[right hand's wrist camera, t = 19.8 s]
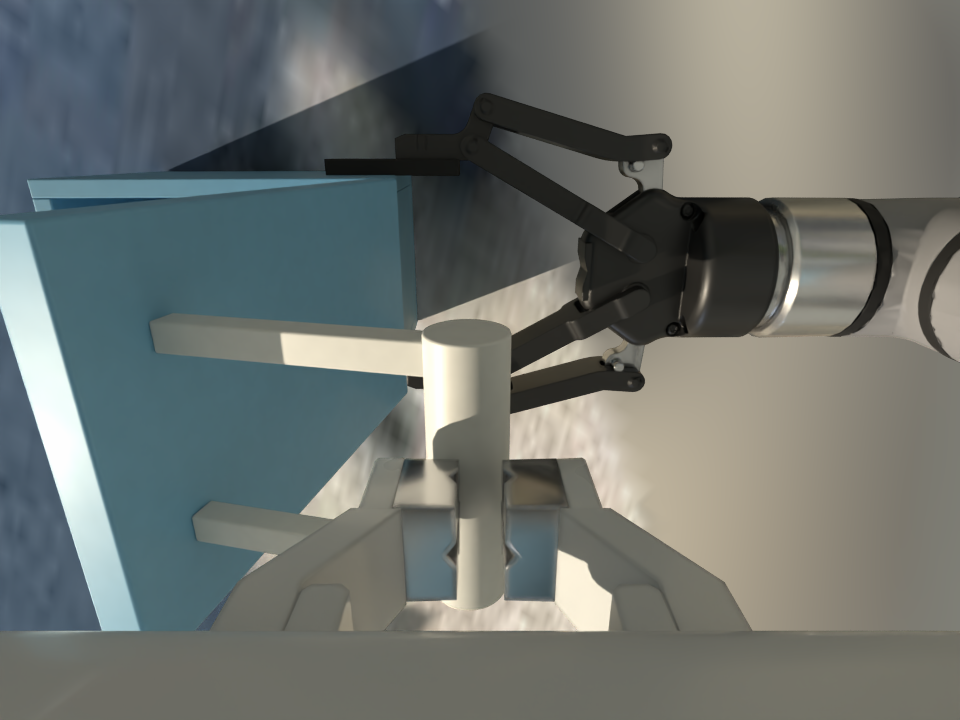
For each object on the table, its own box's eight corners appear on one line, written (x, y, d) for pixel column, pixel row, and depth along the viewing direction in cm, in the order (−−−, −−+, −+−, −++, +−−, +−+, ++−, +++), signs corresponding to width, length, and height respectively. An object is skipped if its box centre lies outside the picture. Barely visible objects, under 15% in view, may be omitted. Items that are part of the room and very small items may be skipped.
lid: (111, 666, 12) (483, 756, 10) (-32, 217, 9) (482, 232, 7) (385, 390, 27) (562, 408, 25) (370, 178, 23) (574, 179, 21)
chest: (192, 323, 38) (84, 389, 27) (163, 171, 34) (26, 179, 24) (417, 321, 38) (398, 386, 27) (411, 170, 34) (385, 177, 24)
